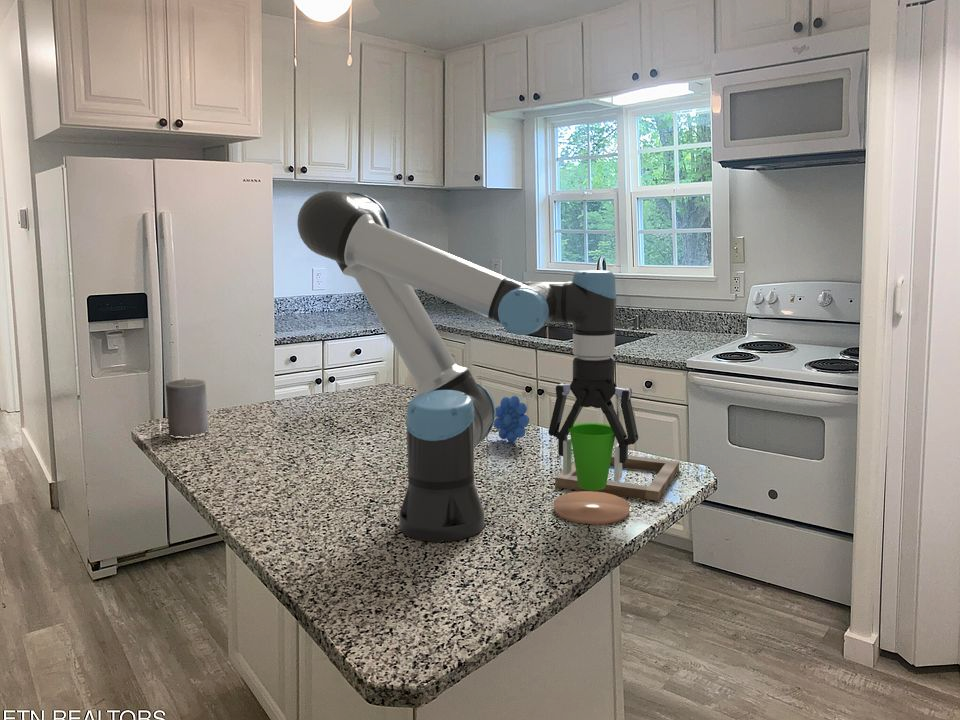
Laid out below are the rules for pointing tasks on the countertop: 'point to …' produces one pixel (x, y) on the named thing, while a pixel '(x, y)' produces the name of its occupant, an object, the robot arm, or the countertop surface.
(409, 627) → the countertop surface
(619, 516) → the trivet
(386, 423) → the countertop surface
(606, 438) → the cup
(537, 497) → the countertop surface
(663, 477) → the frame
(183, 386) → the pillar candle
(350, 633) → the countertop surface
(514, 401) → the grapes
